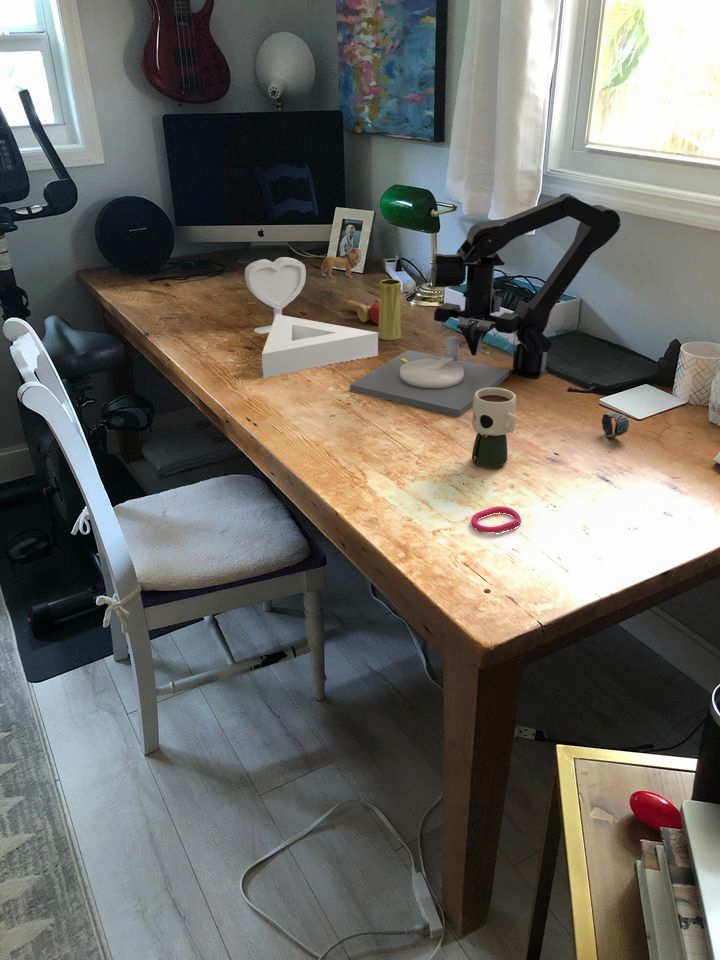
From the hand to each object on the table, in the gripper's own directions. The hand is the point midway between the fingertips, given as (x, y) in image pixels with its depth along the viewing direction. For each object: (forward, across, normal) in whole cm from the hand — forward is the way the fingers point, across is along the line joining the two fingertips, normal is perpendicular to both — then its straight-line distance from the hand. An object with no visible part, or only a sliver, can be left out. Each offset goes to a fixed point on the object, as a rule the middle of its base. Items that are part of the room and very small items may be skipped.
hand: (474, 355), depth 171 cm
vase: (+5, +30, -13) cm, 33 cm away
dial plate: (+5, +6, +10) cm, 12 cm away
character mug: (+5, -20, +38) cm, 43 cm away
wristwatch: (+5, -36, +16) cm, 40 cm away
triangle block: (+5, +40, +14) cm, 42 cm away
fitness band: (+5, -30, +56) cm, 64 cm away
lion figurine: (+5, +74, -58) cm, 95 cm away
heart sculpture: (+5, +58, -4) cm, 59 cm away
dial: (+3, +5, +8) cm, 10 cm away
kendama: (+5, +43, -24) cm, 50 cm away
